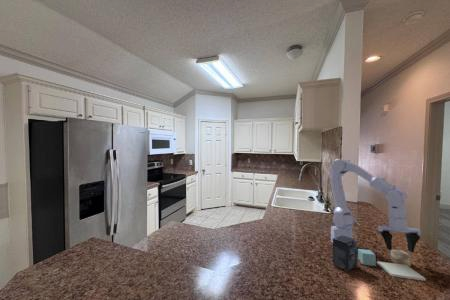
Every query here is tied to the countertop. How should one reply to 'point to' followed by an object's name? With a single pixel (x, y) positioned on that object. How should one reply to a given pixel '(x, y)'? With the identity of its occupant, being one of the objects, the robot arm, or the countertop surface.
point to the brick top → (366, 257)
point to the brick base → (400, 257)
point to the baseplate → (400, 271)
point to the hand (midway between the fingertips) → (399, 250)
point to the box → (344, 252)
